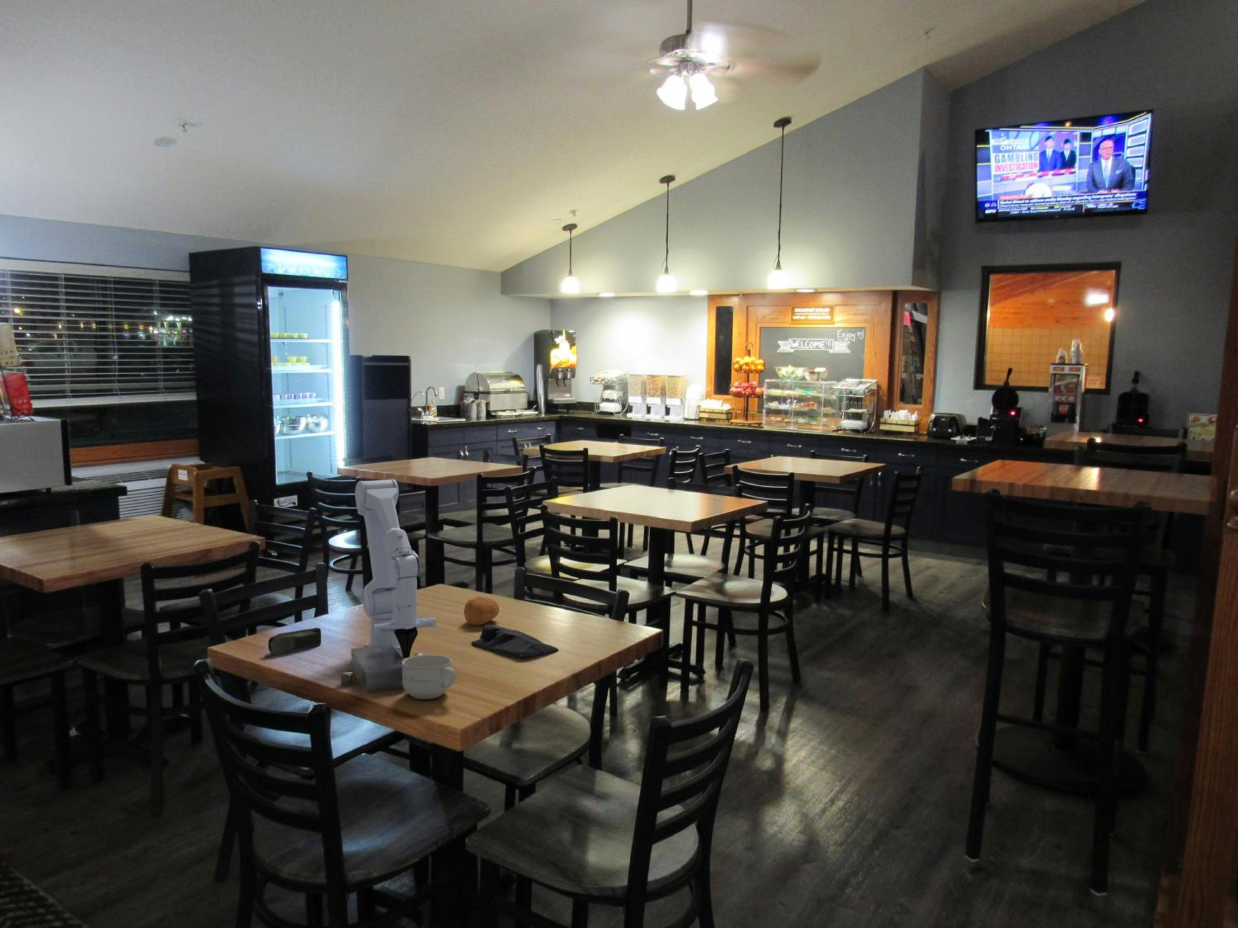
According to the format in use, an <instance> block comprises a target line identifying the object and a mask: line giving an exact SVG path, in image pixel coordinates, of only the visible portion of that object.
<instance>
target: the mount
mask: <svg viewBox="0 0 1238 928" xmlns="http://www.w3.org/2000/svg"><path fill="white" fill-rule="evenodd" d="M350 652H351V653H350V655H351V670H352V672H353V674H354V675H355V676H356V679H357V680H358V682H359V683H360V685H361V687H362V689H363V690H364V692H365V693H366V694H371V693H376V692H377V693H378V692H384V691H390V690H396V689H402V688H403V689H404V687H403V681H402V661H403V660H404V659H403V658H402V657H401V655H400V654H399V653H398V652H397V650H396V649H395V648H394V647H393V645H392V644H384V645H377V646H369V647H367V646H362V647H355V648H351V651H350Z"/></svg>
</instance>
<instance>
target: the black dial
mask: <svg viewBox="0 0 1238 928" xmlns="http://www.w3.org/2000/svg"><path fill="white" fill-rule="evenodd" d="M339 676H340V686H341V687H351V686H352V685H354V672H353V671H344V672H342V673H340V675H339Z"/></svg>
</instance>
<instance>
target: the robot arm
mask: <svg viewBox="0 0 1238 928" xmlns="http://www.w3.org/2000/svg"><path fill="white" fill-rule="evenodd" d="M399 490H400V489H399V485H398V483H397V481H396V480H395V479H394V478H390V479H377V480H359V481H357V483H356V485H355V490H354V497H355V506H356V510H357V514H358V515H360V516H362V517H364V522H365V527H366V529H365V530H366V535H367V542H368V543H367V544H368V551H369V559H370V567H371V573H372V580H370V581H369V583H367V584H366V585H365V587H364V588H363V598H362V603H363V611H364V613H365V615H366V616H367V617H368V618H370V620H369V642H368V643H365V647H369V646H377V645H384V644H392V645H393V647H394V648H400V649H401V653H402V658H409V657H411V656H410V655H411V651H412V648H413V646H414V643H415V640H416V638H417V637H418V634H419V631H418V629H420V628H421V629H423V628H428V627H430V628H436V627H437V626H436V622H437V619H436V618H435V617H434V616H432V617H418V579H417V578H419V577H420V575H421V571H422V569H421V567H422V566H421V560H420V557H419V555H418V554H417V553H416V551H415V550H413V549H412V547H411V544H410V541H409V537H408V534H407V533H406V531H405V530H404V529H401V528H400V527H401V526H400V523H399V518H398V514H397V513H398V512H397V508H396V506H397V502H398V499H399V495H400V491H399Z"/></svg>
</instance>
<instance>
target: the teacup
mask: <svg viewBox="0 0 1238 928" xmlns="http://www.w3.org/2000/svg"><path fill="white" fill-rule="evenodd" d="M452 662H453V660H452V659H451V658H450V657H448V656H446V655H441V654H422V655H419V656H415V655H414V656H410V657H409V658H406V659H404V660H403V661H402V681H403V687H404V688H403V689H404V691H405V692H406V693H408V694H409V695H410V696H411V697H412V698H413V699H417V700H432V699H436V698H439V697H441V696H442V695H443V694H444V693H445V692H447V690H448V689H449V688H450V687H452V686H454V684H455V683H456V681H457V674H456V671H455V669H454V668H453V667H452Z"/></svg>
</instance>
